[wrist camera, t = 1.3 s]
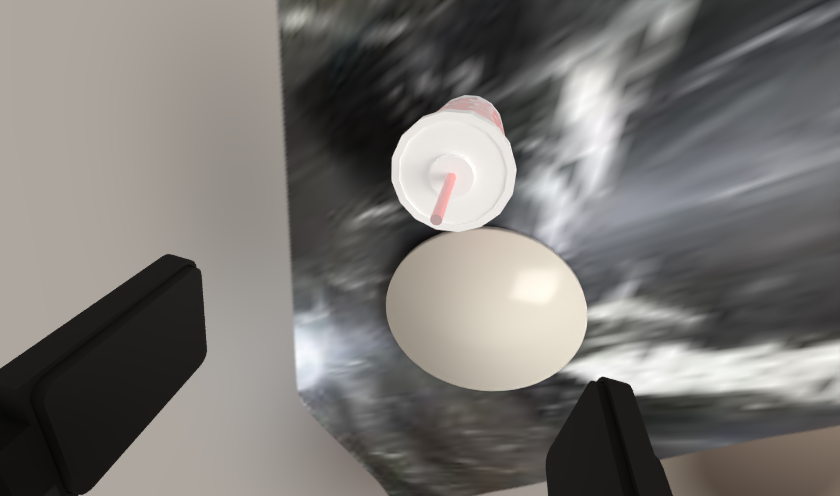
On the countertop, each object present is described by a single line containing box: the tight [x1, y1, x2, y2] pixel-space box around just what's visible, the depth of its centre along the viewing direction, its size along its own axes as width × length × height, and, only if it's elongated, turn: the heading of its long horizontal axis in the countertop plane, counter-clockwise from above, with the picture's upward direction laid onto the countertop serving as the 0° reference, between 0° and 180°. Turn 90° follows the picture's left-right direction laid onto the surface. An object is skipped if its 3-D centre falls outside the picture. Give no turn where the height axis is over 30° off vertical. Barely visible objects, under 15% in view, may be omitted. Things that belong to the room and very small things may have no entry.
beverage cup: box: [392, 95, 516, 232], centre depth 22 cm, size 6×6×14 cm
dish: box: [386, 226, 587, 391], centre depth 34 cm, size 16×16×1 cm
